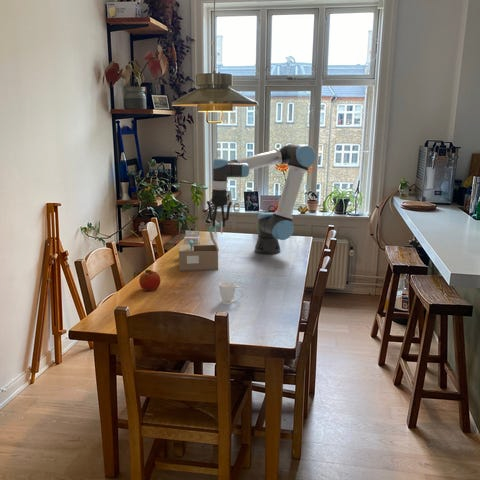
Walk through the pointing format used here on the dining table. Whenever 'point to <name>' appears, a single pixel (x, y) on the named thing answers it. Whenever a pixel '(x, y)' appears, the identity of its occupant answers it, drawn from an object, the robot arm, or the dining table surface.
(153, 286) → the fruit
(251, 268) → the dining table surface
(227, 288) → the cup
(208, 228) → the flap
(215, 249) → the carton
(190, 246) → the flap
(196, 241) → the ink box
